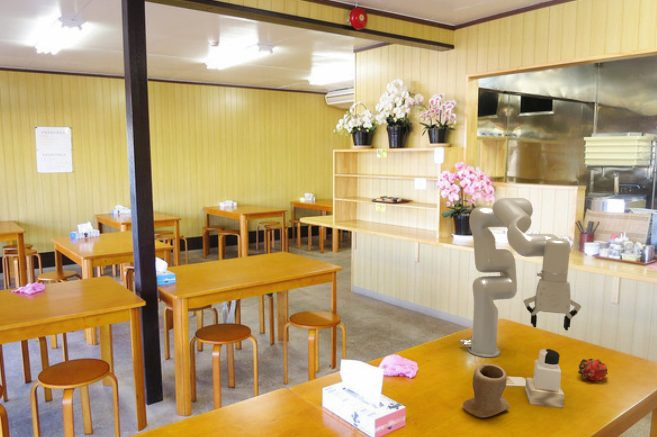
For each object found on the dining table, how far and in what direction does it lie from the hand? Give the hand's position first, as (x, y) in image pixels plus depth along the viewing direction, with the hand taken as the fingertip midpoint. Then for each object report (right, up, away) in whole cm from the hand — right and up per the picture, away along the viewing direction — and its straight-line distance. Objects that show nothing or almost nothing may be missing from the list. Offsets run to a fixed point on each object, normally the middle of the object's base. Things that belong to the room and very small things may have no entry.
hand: (549, 327), depth 163 cm
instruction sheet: (-7, -23, +15) cm, 28 cm away
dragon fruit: (+24, -23, +19) cm, 38 cm away
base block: (-1, -25, +3) cm, 25 cm away
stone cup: (-22, -25, -5) cm, 34 cm away
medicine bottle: (0, -20, +2) cm, 20 cm away
